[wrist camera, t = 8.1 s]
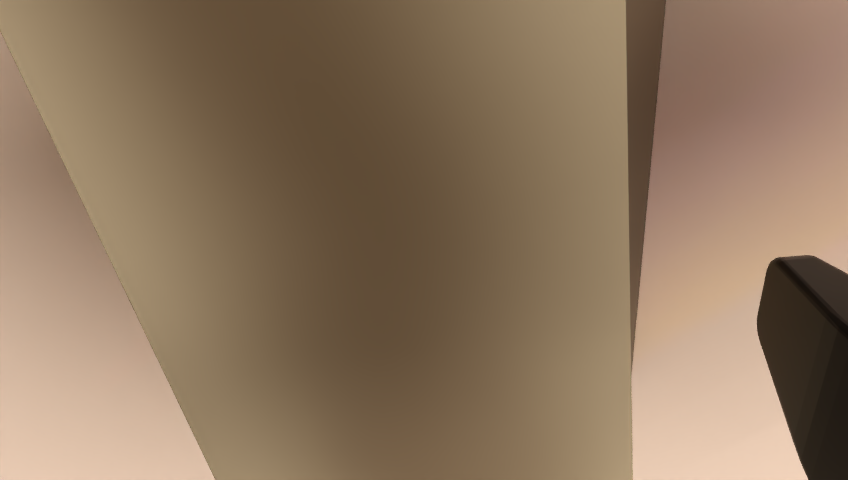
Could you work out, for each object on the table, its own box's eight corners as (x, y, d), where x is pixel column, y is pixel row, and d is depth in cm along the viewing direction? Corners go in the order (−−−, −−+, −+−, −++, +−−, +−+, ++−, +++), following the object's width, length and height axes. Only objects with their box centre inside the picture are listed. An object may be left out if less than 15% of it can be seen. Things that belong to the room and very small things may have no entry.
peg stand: (703, -722, 10) (814, -880, 7) (616, 382, 20) (647, 483, 18) (-85, -630, 10) (-261, -748, 7) (236, 409, 21) (211, 512, 18)
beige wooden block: (526, -646, 8) (612, -900, 5) (590, 432, 17) (634, 611, 14) (-38, -518, 8) (-332, -662, 5) (316, 466, 17) (295, 645, 14)
